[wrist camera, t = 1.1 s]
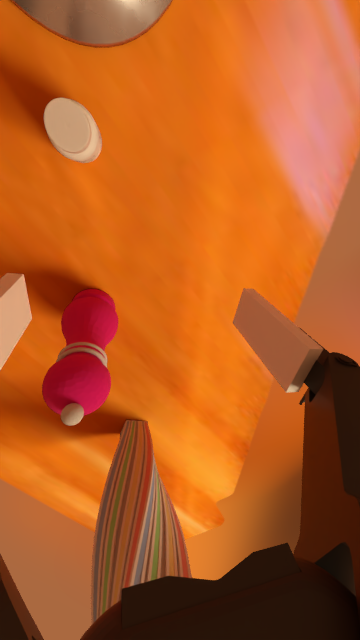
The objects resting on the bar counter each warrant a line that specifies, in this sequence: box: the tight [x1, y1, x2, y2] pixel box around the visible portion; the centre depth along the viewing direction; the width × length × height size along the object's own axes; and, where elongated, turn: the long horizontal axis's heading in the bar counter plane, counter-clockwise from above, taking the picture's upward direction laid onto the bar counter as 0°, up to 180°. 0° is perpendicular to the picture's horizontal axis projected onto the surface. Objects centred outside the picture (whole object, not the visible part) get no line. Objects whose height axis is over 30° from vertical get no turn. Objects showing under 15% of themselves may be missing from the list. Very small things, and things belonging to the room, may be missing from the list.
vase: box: [91, 420, 192, 624], centre depth 40 cm, size 14×14×30 cm
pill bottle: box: [44, 98, 102, 163], centre depth 22 cm, size 4×4×8 cm
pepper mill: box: [42, 289, 118, 426], centre depth 27 cm, size 7×7×20 cm
